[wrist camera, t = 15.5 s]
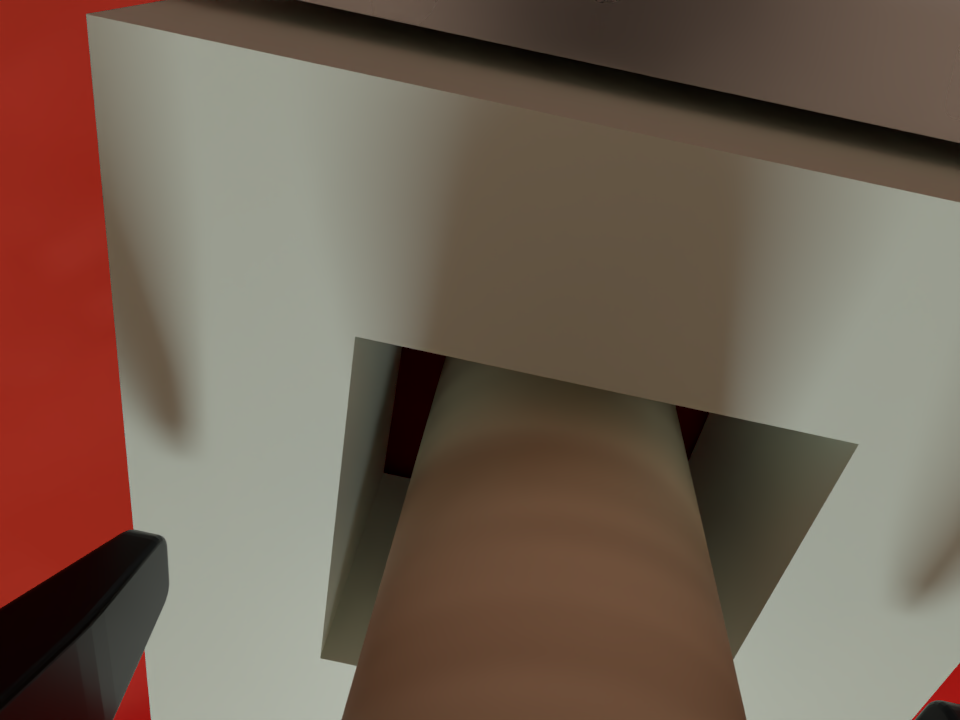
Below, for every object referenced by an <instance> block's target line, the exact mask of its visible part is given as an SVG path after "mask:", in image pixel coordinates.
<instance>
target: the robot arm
mask: <svg viewBox="0 0 960 720" xmlns="http://www.w3.org/2000/svg"><path fill="white" fill-rule="evenodd" d="M168 591H169V568H168V550H167V542H166V540H165V538H164V537H163V536H161V535H158V534H153V533H149V532H144V531H139V530H128V531H125V532H123V533H121V534H119V535H118V536H116V537H115V538H113V539H111V540H110V541H108V542H106V543H105V544H103V545H102V546H100V547H98V548H97V549H95V550H94V551H92V552H90V553H89V554H87V555H86V556H84V557H82V558H81V559H79V560H78V561H76V562H74V563H73V564H71V565H69V566H68V567H66V568H65V569H63V570H61V571H60V572H58V573H57V574H55V575H53V576H52V577H50V578H49V579H47V580H45V581H44V582H42V583H41V584H39V585H37V586H36V587H34V588H33V589H31V590H29V591H28V592H26V593H24V594H23V595H21V596H20V597H18V598H16V599H15V600H13V601H12V602H10V603H8V604H7V605H5V606H4V607H2V608H0V720H113V718H114V716H115V714H116V712H117V710H118V707H119V705H120V703H121V701H122V698H123V696H124V694H125V692H126V690H127V687H128V685H129V683H130V681H131V678H132V676H133V674H134V672H135V669H136V667H137V665H138V663H139V660H140V658H141V656H142V654H143V651H144V649H145V647H146V645H147V642H148V640H149V638H150V636H151V634H152V631H153V629H154V627H155V625H156V622H157V620H158V618H159V616H160V613H161V611H162V609H163V607H164V604H165V602H166V599H167V595H168ZM915 720H960V704H955V703H950V702H946V701H939V700H937V701H933V702H931V703H929V704H928V705H927V706H926V707H925V708H924V710H923V711H922V712H921V713H920V714H919V716H918V717H917V718H916V719H915Z"/></svg>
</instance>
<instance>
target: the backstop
mask: <svg viewBox="0 0 960 720" xmlns="http://www.w3.org/2000/svg"><path fill="white" fill-rule="evenodd" d="M300 1H305V2H310V3H314V4H319V5H323V6H328V7H333V8H337V9H342V10H347V11H351V12H356V13H360V14H365V15H370V16H374V17H379V18H384V19H388V20H393V21H397V22H402V23H407V24H411V25H416V26H421V27H425V28H430V29H434V30H439V31H444V32H448V33H453V34H458V35H462V36H467V37H471V38H476V39H481V40H485V41H490V42H495V43H499V44H504V45H509V46H513V47H518V48H522V49H527V50H532V51H536V52H541V53H546V54H550V55H555V56H559V57H564V58H569V59H573V60H578V61H583V62H587V63H592V64H596V65H601V66H606V67H610V68H615V69H620V70H624V71H629V72H633V73H638V74H643V75H647V76H652V77H657V78H661V79H666V80H670V81H675V82H680V83H684V84H689V85H694V86H698V87H703V88H707V89H712V90H717V91H721V92H726V93H731V94H735V95H740V96H745V97H749V98H754V99H758V100H763V101H768V102H772V103H777V104H782V105H786V106H791V107H795V108H800V109H805V110H809V111H814V112H819V113H823V114H828V115H832V116H837V117H842V118H846V119H851V120H856V121H860V122H865V123H869V124H874V125H879V126H883V127H888V128H893V129H897V130H902V131H906V132H911V133H916V134H920V135H925V136H930V137H934V138H939V139H943V140H948V141H953V142H957V143H960V0H300Z"/></svg>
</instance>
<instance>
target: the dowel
mask: <svg viewBox="0 0 960 720" xmlns="http://www.w3.org/2000/svg"><path fill="white" fill-rule="evenodd" d="M341 720H747V719H746V715H745V710H744V706H743V702H742V697H741V693H740V688H739V684H738V679H737V675H736V671H735V666H734V662H733V657H732V653H731V649H730V644H729V640H728V635H727V631H726V626H725V622H724V618H723V613H722V609H721V604H720V600H719V596H718V591H717V587H716V582H715V578H714V573H713V569H712V565H711V560H710V556H709V551H708V547H707V543H706V538H705V534H704V529H703V525H702V520H701V516H700V512H699V507H698V503H697V498H696V494H695V490H694V485H693V481H692V476H691V472H690V467H689V463H688V459H687V454H686V450H685V445H684V441H683V437H682V432H681V428H680V423H679V419H678V414H677V410H676V406H675V405H673V404H669V403H664V402H659V401H654V400H650V399H645V398H640V397H636V396H631V395H626V394H622V393H617V392H612V391H608V390H603V389H598V388H594V387H589V386H584V385H580V384H575V383H570V382H566V381H561V380H556V379H552V378H547V377H542V376H538V375H533V374H528V373H524V372H519V371H514V370H510V369H505V368H500V367H496V366H491V365H486V364H482V363H477V362H472V361H468V360H463V359H458V358H454V357H449V356H446V357H445V361H444V364H443V368H442V371H441V374H440V378H439V381H438V385H437V388H436V392H435V395H434V399H433V402H432V406H431V409H430V413H429V416H428V420H427V423H426V427H425V430H424V434H423V437H422V441H421V444H420V448H419V451H418V455H417V458H416V462H415V465H414V469H413V472H412V476H411V479H410V482H409V486H408V489H407V493H406V496H405V500H404V503H403V507H402V510H401V514H400V517H399V521H398V524H397V528H396V531H395V535H394V538H393V542H392V545H391V549H390V552H389V556H388V559H387V563H386V566H385V570H384V573H383V577H382V580H381V584H380V587H379V590H378V594H377V597H376V601H375V604H374V608H373V611H372V615H371V618H370V622H369V625H368V629H367V632H366V636H365V639H364V643H363V646H362V650H361V653H360V657H359V660H358V664H357V667H356V671H355V674H354V678H353V681H352V685H351V688H350V692H349V695H348V698H347V702H346V705H345V709H344V712H343V716H342V719H341Z"/></svg>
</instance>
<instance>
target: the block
mask: <svg viewBox="0 0 960 720" xmlns="http://www.w3.org/2000/svg"><path fill="white" fill-rule="evenodd" d="M86 18H87V28H88V39H89V50H90V61H91V72H92V83H93V94H94V104H95V115H96V126H97V137H98V148H99V159H100V170H101V180H102V191H103V202H104V213H105V224H106V235H107V246H108V256H109V267H110V278H111V289H112V300H113V311H114V322H115V332H116V343H117V354H118V365H119V376H120V387H121V398H122V409H123V419H124V430H125V441H126V452H127V463H128V474H129V485H130V495H131V506H132V517H133V528H134V530H139V531H144V532H149V533H153V534H158V535H161V536H163V537H164V538H165V540H166V542H167V550H168V568H169V591H168V595H167V599H166V602H165V604H164V607H163V609H162V611H161V613H160V616H159V618H158V620H157V622H156V625H155V627H154V629H153V631H152V634H151V636H150V638H149V640H148V642H147V645H146V647H145V658H146V669H147V680H148V691H149V702H150V713H151V720H341V719H342V716H343V712H344V709H345V705H346V702H347V698H348V695H349V692H350V688H351V685H352V681H353V678H354V674H355V671H356V667H357V664H358V660H359V657H360V653H361V650H362V646H363V643H364V639H365V636H366V632H367V629H368V625H369V622H370V618H371V615H372V611H373V608H374V604H375V601H376V597H377V594H378V590H379V587H380V584H381V580H382V577H383V573H384V570H385V566H386V563H387V559H388V556H389V552H390V549H391V545H392V542H393V538H394V535H395V531H396V528H397V524H398V521H399V517H400V514H401V510H402V507H403V503H404V500H405V496H406V493H407V489H408V486H409V482H410V478H405V477H400V476H396V475H391V474H386V473H384V467H385V460H386V453H387V446H388V440H389V433H390V426H391V420H392V413H393V406H394V399H395V393H396V386H397V379H398V373H399V366H400V359H401V352H402V347H407V348H412V349H416V350H421V351H426V352H430V353H435V354H440V355H444V356H449V357H454V358H458V359H463V360H468V361H472V362H477V363H482V364H486V365H491V366H496V367H500V368H505V369H510V370H514V371H519V372H524V373H528V374H533V375H538V376H542V377H547V378H552V379H556V380H561V381H566V382H570V383H575V384H580V385H584V386H589V387H594V388H598V389H603V390H608V391H612V392H617V393H622V394H626V395H631V396H636V397H640V398H645V399H650V400H654V401H659V402H664V403H669V404H673V405H678V406H683V407H687V408H692V409H697V410H701V411H706V412H710V413H709V415H708V417H707V419H706V422H705V424H704V426H703V429H702V431H701V433H700V436H699V438H698V440H697V443H696V445H695V447H694V450H693V452H692V454H691V457H690V459H689V461H688V463H689V467H690V472H691V476H692V481H693V485H694V490H695V494H696V498H697V503H698V507H699V512H700V516H701V520H702V525H703V529H704V534H705V538H706V543H707V547H708V551H709V556H710V560H711V565H712V569H713V573H714V578H715V582H716V587H717V591H718V596H719V600H720V604H721V609H722V613H723V618H724V622H725V626H726V631H727V635H728V640H729V644H730V649H731V653H732V657H733V662H734V666H735V671H736V675H737V679H738V684H739V688H740V693H741V697H742V702H743V706H744V710H745V715H746V719H747V720H912V719H913V717H914V716H915V715H916V714H917V713H918V711H919V710H920V709H921V708H922V707H923V706H924V704H925V703H926V702H927V701H928V700H929V698H930V697H931V696H932V695H933V694H934V693H935V691H936V690H937V689H938V688H939V687H940V685H941V684H942V683H943V682H944V681H945V680H946V678H947V677H948V676H949V675H950V674H951V672H952V671H953V670H954V669H955V668H956V666H957V665H958V664H959V663H960V143H957V142H953V141H948V140H943V139H939V138H934V137H930V136H925V135H920V134H916V133H911V132H906V131H902V130H897V129H893V128H888V127H883V126H879V125H874V124H869V123H865V122H860V121H856V120H851V119H846V118H842V117H837V116H832V115H828V114H823V113H819V112H814V111H809V110H805V109H800V108H795V107H791V106H786V105H782V104H777V103H772V102H768V101H763V100H758V99H754V98H749V97H745V96H740V95H735V94H731V93H726V92H721V91H717V90H712V89H707V88H703V87H698V86H694V85H689V84H684V83H680V82H675V81H670V80H666V79H661V78H657V77H652V76H647V75H643V74H638V73H633V72H629V71H624V70H620V69H615V68H610V67H606V66H601V65H596V64H592V63H587V62H583V61H578V60H573V59H569V58H564V57H559V56H555V55H550V54H546V53H541V52H536V51H532V50H527V49H522V48H518V47H513V46H509V45H504V44H499V43H495V42H490V41H485V40H481V39H476V38H471V37H467V36H462V35H458V34H453V33H448V32H444V31H439V30H434V29H430V28H425V27H421V26H416V25H411V24H407V23H402V22H397V21H393V20H388V19H384V18H379V17H374V16H370V15H365V14H360V13H356V12H351V11H347V10H342V9H337V8H333V7H328V6H323V5H319V4H314V3H310V2H305V1H300V0H165V1H159V2H153V3H147V4H142V5H136V6H130V7H124V8H118V9H112V10H107V11H101V12H95V13H89V14H86Z"/></svg>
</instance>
